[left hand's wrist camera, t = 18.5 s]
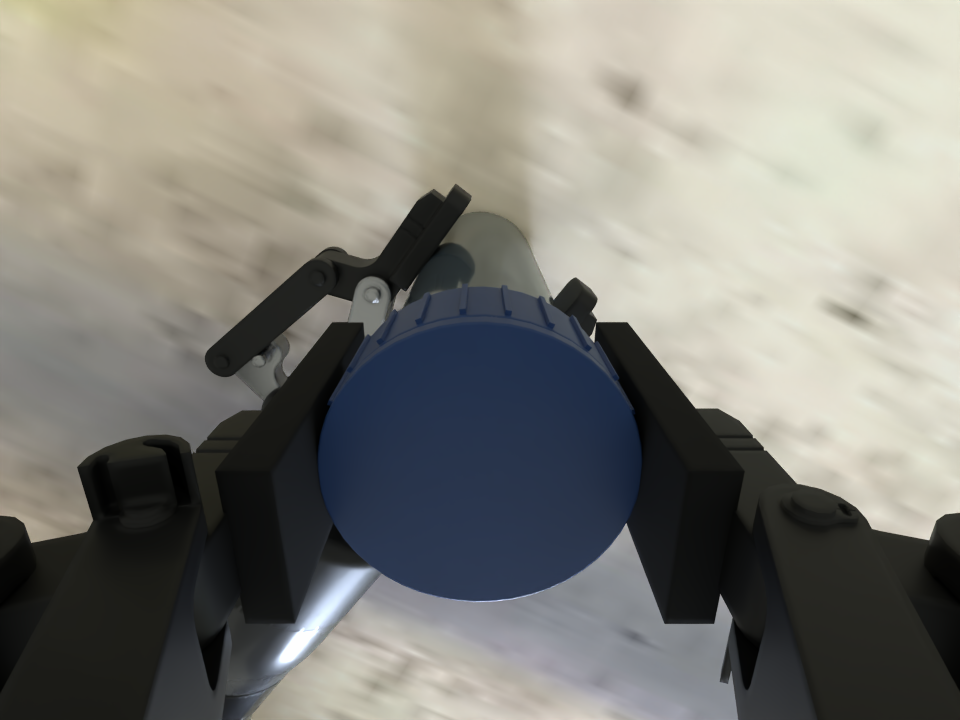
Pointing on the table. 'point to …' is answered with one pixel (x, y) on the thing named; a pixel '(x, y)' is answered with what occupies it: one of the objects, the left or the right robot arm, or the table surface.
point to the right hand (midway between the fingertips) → (524, 242)
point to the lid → (479, 447)
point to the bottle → (481, 259)
